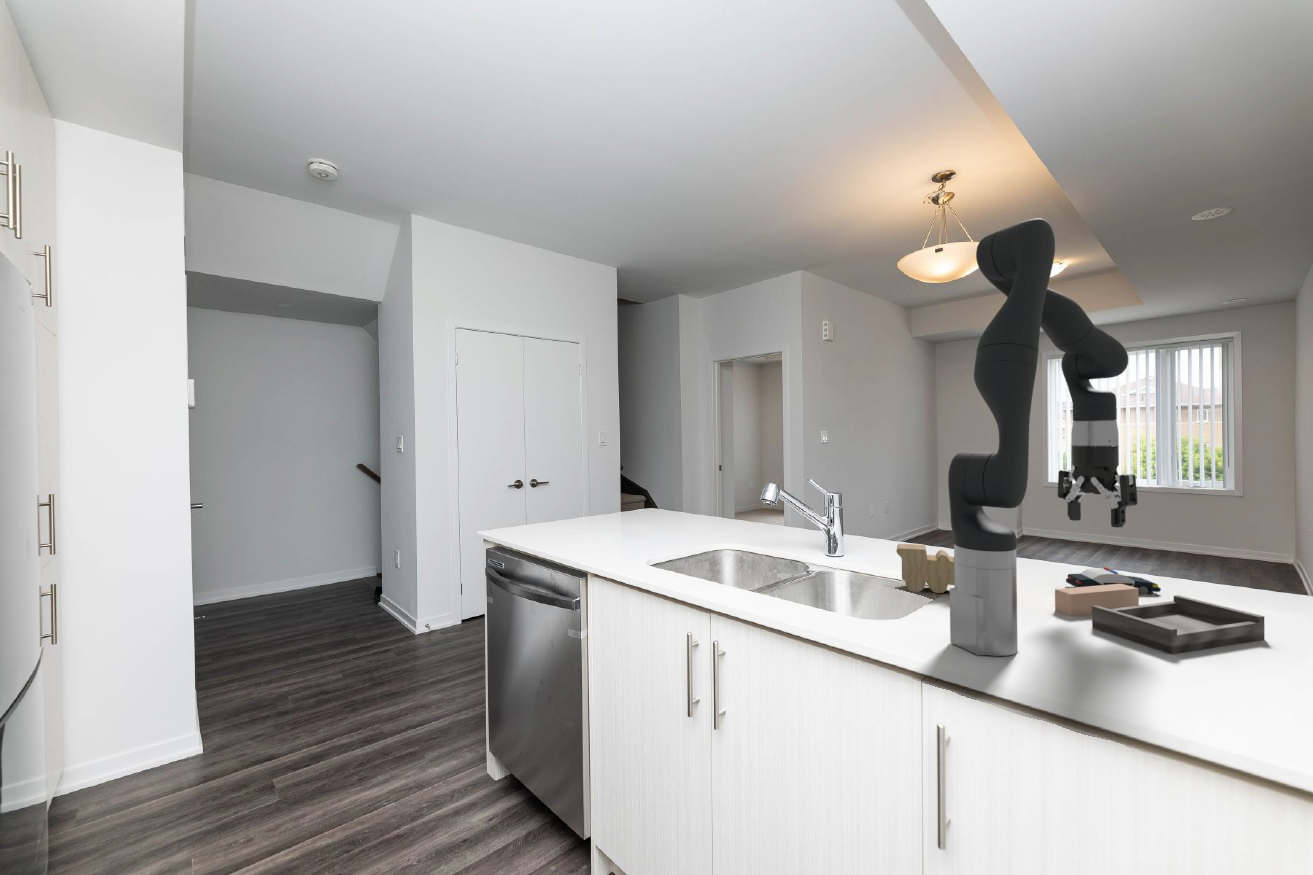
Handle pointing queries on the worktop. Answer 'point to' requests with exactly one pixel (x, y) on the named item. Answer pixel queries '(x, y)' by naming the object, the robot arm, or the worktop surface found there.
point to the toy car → (1110, 580)
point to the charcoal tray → (1180, 624)
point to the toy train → (925, 568)
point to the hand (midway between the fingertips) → (1095, 523)
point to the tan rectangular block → (1095, 598)
